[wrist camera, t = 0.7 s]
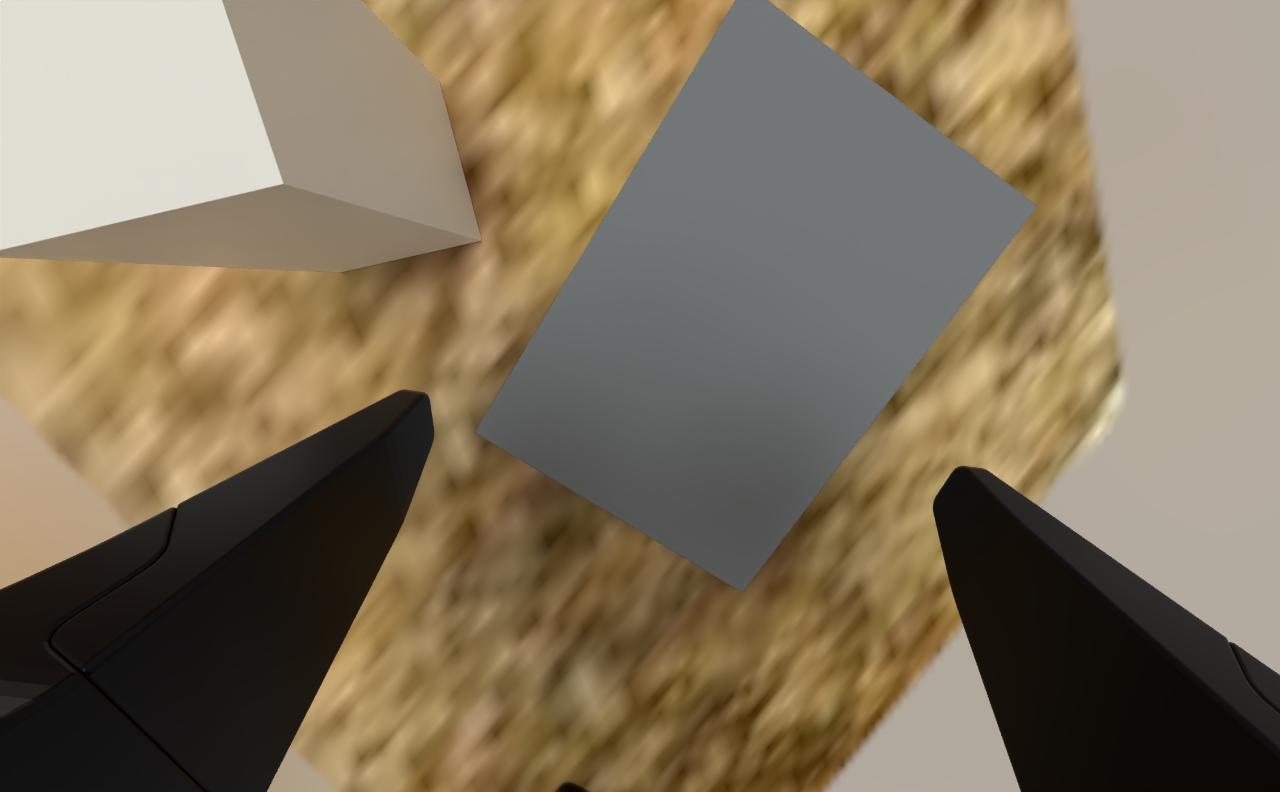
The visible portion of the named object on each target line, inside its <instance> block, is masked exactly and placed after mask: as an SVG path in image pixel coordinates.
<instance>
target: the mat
mask: <svg viewBox="0 0 1280 792" xmlns="http://www.w3.org/2000/svg"><path fill="white" fill-rule="evenodd" d="M1036 208H1037V205H1035V204H1034V203H1033V202H1031V201H1030V200H1029V199H1027V198H1026V197H1025V196H1023V195H1022V194H1021V193H1019V192H1018V191H1017V190H1016V189H1014V188H1013V187H1012V186H1010V185H1009V184H1008V183H1006V182H1005V181H1004V180H1002V179H1001V178H1000V177H999V176H997V175H996V174H995V173H993V172H992V171H991V170H989V169H988V168H987V167H985V166H984V165H983V164H981V163H980V162H979V161H978V160H976V159H975V158H974V157H972V156H971V155H970V154H968V153H967V152H966V151H964V150H963V149H962V148H960V147H959V146H958V145H957V144H955V143H954V142H953V141H951V140H950V139H949V138H947V137H946V136H945V135H943V134H942V133H941V132H940V131H938V130H937V129H936V128H934V127H933V126H932V125H930V124H929V123H928V122H926V121H925V120H924V119H922V118H921V117H920V116H919V115H917V114H916V113H915V112H913V111H912V110H911V109H909V108H908V107H907V106H905V105H904V104H903V103H901V102H900V101H899V100H898V99H896V98H895V97H894V96H892V95H891V94H890V93H888V92H887V91H886V90H884V89H883V88H882V87H881V86H879V85H878V84H877V83H875V82H874V81H873V80H871V79H870V78H869V77H867V76H866V75H865V74H863V73H862V72H861V71H860V70H858V69H857V68H856V67H854V66H853V65H852V64H850V63H849V62H848V61H846V60H845V59H844V58H843V57H841V56H840V55H839V54H837V53H836V52H835V51H833V50H832V49H831V48H829V47H828V46H827V45H825V44H824V43H823V42H822V41H820V40H819V39H818V38H816V37H815V36H814V35H812V34H811V33H810V32H808V31H807V30H806V29H804V28H803V27H802V26H801V25H799V24H798V23H797V22H795V21H794V20H793V19H791V18H790V17H789V16H787V15H786V14H785V13H784V12H782V11H781V10H780V9H778V8H777V7H776V6H774V5H773V4H772V3H770V2H769V1H768V0H736V1H735V2H734V4H733V6H732V7H731V9H730V11H729V12H728V14H727V16H726V17H725V19H724V21H723V22H722V24H721V25H720V27H719V29H718V30H717V32H716V34H715V35H714V37H713V39H712V40H711V42H710V44H709V45H708V47H707V49H706V50H705V52H704V54H703V55H702V57H701V59H700V60H699V62H698V64H697V65H696V67H695V69H694V70H693V72H692V73H691V75H690V77H689V78H688V80H687V82H686V83H685V85H684V87H683V88H682V90H681V92H680V93H679V95H678V97H677V98H676V100H675V102H674V103H673V105H672V107H671V108H670V110H669V112H668V113H667V115H666V117H665V118H664V120H663V122H662V123H661V125H660V126H659V128H658V130H657V131H656V133H655V135H654V136H653V138H652V140H651V141H650V143H649V145H648V146H647V148H646V150H645V151H644V153H643V155H642V156H641V158H640V160H639V161H638V163H637V165H636V166H635V168H634V170H633V171H632V173H631V175H630V176H629V178H628V179H627V181H626V183H625V184H624V186H623V188H622V189H621V191H620V193H619V194H618V196H617V198H616V199H615V201H614V203H613V204H612V206H611V208H610V209H609V211H608V213H607V214H606V216H605V218H604V219H603V221H602V223H601V224H600V226H599V228H598V229H597V231H596V232H595V234H594V236H593V237H592V239H591V241H590V242H589V244H588V246H587V247H586V249H585V251H584V252H583V254H582V256H581V257H580V259H579V261H578V262H577V264H576V266H575V267H574V269H573V271H572V272H571V274H570V276H569V277H568V279H567V281H566V282H565V284H564V285H563V287H562V289H561V290H560V292H559V294H558V295H557V297H556V299H555V300H554V302H553V304H552V305H551V307H550V309H549V310H548V312H547V314H546V315H545V317H544V319H543V320H542V322H541V324H540V325H539V327H538V329H537V330H536V332H535V333H534V335H533V337H532V338H531V340H530V342H529V343H528V345H527V347H526V348H525V350H524V352H523V353H522V355H521V357H520V358H519V360H518V362H517V363H516V365H515V367H514V368H513V370H512V372H511V373H510V375H509V377H508V378H507V380H506V382H505V383H504V385H503V386H502V388H501V390H500V391H499V393H498V395H497V396H496V398H495V400H494V401H493V403H492V405H491V406H490V408H489V410H488V411H487V413H486V415H485V416H484V418H483V420H482V421H481V423H480V425H479V426H478V428H477V430H476V431H475V433H476V434H478V435H480V436H481V437H483V438H485V439H486V440H488V441H490V442H491V443H493V444H495V445H496V446H498V447H500V448H501V449H503V450H505V451H506V452H508V453H510V454H511V455H513V456H515V457H516V458H518V459H520V460H521V461H523V462H525V463H526V464H528V465H530V466H531V467H533V468H535V469H536V470H538V471H540V472H542V473H543V474H545V475H547V476H548V477H550V478H552V479H553V480H555V481H557V482H558V483H560V484H562V485H563V486H565V487H567V488H568V489H570V490H572V491H573V492H575V493H577V494H578V495H580V496H582V497H583V498H585V499H587V500H588V501H590V502H592V503H593V504H595V505H597V506H598V507H600V508H602V509H603V510H605V511H607V512H608V513H610V514H612V515H613V516H615V517H617V518H618V519H620V520H622V521H624V522H625V523H627V524H629V525H630V526H632V527H634V528H635V529H637V530H639V531H640V532H642V533H644V534H645V535H647V536H649V537H650V538H652V539H654V540H655V541H657V542H659V543H660V544H662V545H664V546H665V547H667V548H669V549H670V550H672V551H674V552H675V553H677V554H679V555H680V556H682V557H684V558H685V559H687V560H689V561H690V562H692V563H694V564H695V565H697V566H699V567H700V568H702V569H704V570H706V571H707V572H709V573H711V574H712V575H714V576H716V577H717V578H719V579H721V580H722V581H724V582H726V583H727V584H729V585H731V586H732V587H734V588H736V589H737V590H739V591H741V592H743V591H744V590H745V588H746V587H747V586H748V585H749V583H750V582H751V581H752V579H753V578H754V577H755V575H756V574H757V573H758V571H759V570H760V569H761V568H762V566H763V565H764V564H765V562H766V561H767V560H768V558H769V557H770V556H771V554H772V553H773V552H774V551H775V549H776V548H777V547H778V545H779V544H780V543H781V541H782V540H783V539H784V537H785V536H786V535H787V534H788V532H789V531H790V530H791V528H792V527H793V526H794V524H795V523H796V522H797V520H798V519H799V518H800V517H801V515H802V514H803V513H804V511H805V510H806V509H807V507H808V506H809V505H810V503H811V502H812V501H813V500H814V498H815V497H816V496H817V494H818V493H819V492H820V490H821V489H822V488H823V486H824V485H825V484H826V482H827V481H828V480H829V479H830V477H831V476H832V475H833V473H834V472H835V471H836V469H837V468H838V467H839V465H840V464H841V463H842V462H843V460H844V459H845V458H846V456H847V455H848V454H849V452H850V451H851V450H852V448H853V447H854V446H855V445H856V443H857V442H858V441H859V439H860V438H861V437H862V435H863V434H864V433H865V431H866V430H867V429H868V428H869V426H870V425H871V424H872V422H873V421H874V420H875V418H876V417H877V416H878V414H879V413H880V412H881V411H882V409H883V408H884V407H885V405H886V404H887V403H888V401H889V400H890V399H891V397H892V396H893V395H894V394H895V392H896V391H897V390H898V388H899V387H900V386H901V384H902V383H903V382H904V380H905V379H906V378H907V377H908V375H909V374H910V373H911V371H912V370H913V369H914V367H915V366H916V365H917V363H918V362H919V361H920V360H921V358H922V357H923V356H924V354H925V353H926V352H927V350H928V349H929V348H930V346H931V345H932V344H933V342H934V341H935V340H936V339H937V337H938V336H939V335H940V333H941V332H942V331H943V329H944V328H945V327H946V325H947V324H948V323H949V322H950V320H951V319H952V318H953V316H954V315H955V314H956V312H957V311H958V310H959V308H960V307H961V306H962V305H963V303H964V302H965V301H966V299H967V298H968V297H969V295H970V294H971V293H972V291H973V290H974V289H975V288H976V286H977V285H978V284H979V282H980V281H981V280H982V278H983V277H984V276H985V274H986V273H987V272H988V271H989V269H990V268H991V267H992V265H993V264H994V263H995V261H996V260H997V259H998V257H999V256H1000V255H1001V254H1002V252H1003V251H1004V250H1005V248H1006V247H1007V246H1008V244H1009V243H1010V242H1011V240H1012V239H1013V238H1014V237H1015V235H1016V234H1017V233H1018V231H1019V230H1020V229H1021V227H1022V226H1023V225H1024V223H1025V222H1026V221H1027V220H1028V218H1029V217H1030V216H1031V214H1032V213H1033V212H1034V210H1035V209H1036Z"/></svg>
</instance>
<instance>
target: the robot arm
mask: <svg viewBox="0 0 1280 792" xmlns="http://www.w3.org/2000/svg"><path fill="white" fill-rule="evenodd" d="M433 439H434V426H433V419H432V412H431V405H430V399H429V397H428V395H427V394H426V393H424V392H419V391H412V390H400V391H397V392H395V393H393V394H391V395H389V396H388V397H386V398H384V399H382V400H380V401H378V402H376V403H374V404H372V405H370V406H368V407H366V408H364V409H362V410H360V411H358V412H356V413H354V414H353V415H351V416H349V417H347V418H345V419H343V420H341V421H339V422H337V423H335V424H333V425H331V426H329V427H327V428H325V429H323V430H321V431H320V432H318V433H316V434H314V435H312V436H310V437H308V438H306V439H304V440H302V441H300V442H298V443H296V444H294V445H292V446H290V447H288V448H286V449H285V450H283V451H281V452H279V453H277V454H275V455H273V456H271V457H269V458H267V459H265V460H263V461H261V462H259V463H257V464H255V465H253V466H252V467H250V468H248V469H246V470H244V471H242V472H240V473H238V474H236V475H234V476H232V477H230V478H228V479H226V480H224V481H222V482H220V483H218V484H217V485H215V486H213V487H211V488H209V489H207V490H205V491H203V492H201V493H199V494H197V495H195V496H193V497H191V498H189V499H187V500H185V501H183V502H181V503H180V504H179V505H178V507H177V508H175V507H172V508H170V509H168V510H166V511H164V512H162V513H160V514H158V515H156V516H154V517H152V518H150V519H148V520H146V521H144V522H142V523H140V524H138V525H136V526H134V527H132V528H130V529H128V530H126V531H124V532H122V533H120V534H118V535H116V536H114V537H112V538H110V539H108V540H106V541H104V542H102V543H100V544H98V545H96V546H94V547H92V548H90V549H88V550H86V551H84V552H81V553H79V554H77V555H75V556H73V557H71V558H68V559H66V560H64V561H62V562H60V563H58V564H55V565H53V566H51V567H49V568H47V569H45V570H43V571H40V572H38V573H36V574H34V575H32V576H30V577H27V578H25V579H23V580H21V581H18V582H16V583H14V584H12V585H9V586H7V587H5V588H3V589H0V792H267V790H268V788H269V786H270V784H271V782H272V780H273V778H274V776H275V774H276V772H277V771H278V768H279V767H280V765H281V763H282V761H283V759H284V757H285V754H286V753H287V751H288V749H289V747H290V745H291V743H292V741H293V739H294V737H295V735H296V733H297V731H298V729H299V727H300V725H301V723H302V721H303V719H304V717H305V715H306V713H307V712H308V710H309V708H310V706H311V704H312V702H313V700H314V698H315V696H316V694H317V692H318V690H319V688H320V686H321V684H322V682H323V680H324V678H325V676H326V674H327V672H328V670H329V668H330V666H331V664H332V662H333V660H334V658H335V656H336V655H337V653H338V651H339V649H340V647H341V645H342V643H343V641H344V639H345V637H346V635H347V633H348V631H349V629H350V627H351V625H352V623H353V621H354V619H355V617H356V615H357V613H358V611H359V609H360V607H361V605H362V603H363V601H364V599H365V597H366V596H367V594H368V592H369V590H370V588H371V586H372V584H373V582H374V580H375V578H376V576H377V574H378V572H379V570H380V568H381V566H382V564H383V562H384V560H385V558H386V556H387V554H388V552H389V550H390V548H391V546H392V544H393V542H394V540H395V538H396V537H397V535H398V532H399V530H400V528H401V526H402V524H403V522H404V519H405V517H406V514H407V512H408V509H409V506H410V504H411V501H412V498H413V496H414V493H415V490H416V487H417V485H418V482H419V479H420V476H421V474H422V471H423V468H424V465H425V463H426V460H427V457H428V455H429V452H430V449H431V446H432V443H433ZM933 513H934V517H935V522H936V526H937V530H938V535H939V539H940V543H941V548H942V552H943V556H944V561H945V565H946V569H947V574H948V578H949V582H950V586H951V589H952V593H953V596H954V599H955V603H956V606H957V609H958V612H959V614H960V617H961V620H962V623H963V626H964V629H965V632H966V635H967V638H968V640H969V643H970V646H971V649H972V652H973V655H974V658H975V660H976V663H977V666H978V669H979V672H980V675H981V678H982V681H983V684H984V686H985V689H986V692H987V695H988V698H989V701H990V704H991V706H992V709H993V712H994V715H995V718H996V721H997V724H998V727H999V730H1000V732H1001V736H1002V738H1003V741H1004V744H1005V747H1006V750H1007V753H1008V756H1009V759H1010V761H1011V764H1012V767H1013V770H1014V773H1015V776H1016V779H1017V782H1018V785H1019V787H1020V790H1021V792H1280V675H1279V674H1277V673H1276V672H1275V671H1273V670H1272V669H1270V668H1269V667H1267V666H1266V665H1265V664H1263V663H1262V662H1260V661H1259V660H1257V659H1256V658H1255V657H1253V656H1252V655H1250V654H1249V653H1247V652H1246V651H1245V650H1243V649H1242V648H1240V647H1239V646H1238V645H1236V644H1235V643H1232V642H1228V640H1227V638H1226V637H1224V636H1223V635H1221V634H1220V633H1219V632H1217V631H1216V630H1214V629H1213V628H1212V627H1210V626H1209V625H1207V624H1206V623H1204V622H1203V621H1202V620H1200V619H1199V618H1197V617H1196V616H1194V615H1193V614H1192V613H1190V612H1189V611H1187V610H1186V609H1184V608H1183V607H1182V606H1180V605H1179V604H1177V603H1176V602H1174V601H1173V600H1172V599H1170V598H1169V597H1167V596H1166V595H1164V594H1163V593H1162V592H1160V591H1159V590H1157V589H1156V588H1154V587H1153V586H1152V585H1150V584H1149V583H1147V582H1146V581H1145V580H1143V579H1142V578H1140V577H1139V576H1137V575H1136V574H1135V573H1133V572H1132V571H1130V570H1129V569H1127V568H1126V567H1124V566H1123V565H1122V564H1120V563H1119V562H1117V561H1116V560H1115V559H1113V558H1112V557H1110V556H1109V555H1107V554H1106V553H1105V552H1103V551H1102V550H1100V549H1099V548H1097V547H1096V546H1095V545H1093V544H1092V543H1090V542H1089V541H1087V540H1086V539H1085V538H1083V537H1082V536H1080V535H1079V534H1077V533H1076V532H1074V531H1073V530H1071V529H1070V528H1069V527H1067V526H1066V525H1064V524H1063V523H1062V522H1060V521H1059V520H1057V519H1056V518H1055V517H1053V516H1052V515H1050V514H1049V513H1047V512H1046V511H1045V510H1043V509H1042V508H1040V507H1039V506H1038V505H1036V504H1035V503H1033V502H1032V501H1030V500H1029V499H1028V498H1026V497H1025V496H1023V495H1022V494H1020V493H1019V492H1018V491H1016V490H1015V489H1013V488H1012V487H1010V486H1009V485H1008V484H1006V483H1005V482H1003V481H1002V480H1000V479H999V478H998V477H996V476H995V475H993V474H992V473H990V472H989V471H987V470H985V469H982V468H976V467H968V466H960V467H957V468H956V469H954V471H953V472H952V473H951V475H950V476H949V478H948V479H947V481H946V482H945V484H944V485H943V487H942V488H941V489H940V491H939V492H938V494H937V495H936V497H935V499H934V503H933ZM557 792H582V791H580V790H578V789H576V788H574V787H572V786H569V785H565V786H563V787H561V788H560V789H559V790H558V791H557Z"/></svg>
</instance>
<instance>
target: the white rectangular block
mask: <svg viewBox="0 0 1280 792" xmlns="http://www.w3.org/2000/svg"><path fill="white" fill-rule="evenodd" d="M478 241H482V240H481V236H480V232H479V229H478V225H477V221H476V217H475V214H474V210H473V206H472V202H471V199H470V195H469V191H468V187H467V184H466V180H465V176H464V172H463V169H462V165H461V161H460V157H459V154H458V150H457V146H456V142H455V139H454V135H453V131H452V127H451V124H450V120H449V116H448V112H447V109H446V105H445V101H444V97H443V94H442V90H441V86H440V82H439V80H438V79H437V78H436V77H435V76H434V75H433V74H432V73H431V72H430V71H429V70H428V69H427V68H426V67H425V66H424V65H423V64H422V63H421V62H420V61H419V60H418V59H417V58H416V56H415V55H414V54H413V53H412V52H411V51H410V50H409V49H408V48H407V47H406V46H405V45H404V44H403V43H402V42H401V41H400V40H399V39H398V38H397V37H396V36H395V35H394V34H393V33H392V32H391V31H390V30H389V29H388V28H387V27H386V26H385V25H384V24H383V23H382V22H381V21H380V20H379V18H378V17H377V16H376V15H375V14H374V13H373V12H372V11H371V10H370V9H369V8H368V7H367V6H366V5H365V4H364V3H363V2H362V1H361V0H0V257H2V258H24V259H47V260H69V261H92V262H114V263H137V264H159V265H182V266H204V267H227V268H249V269H272V270H294V271H317V272H339V273H341V272H345V271H349V270H354V269H358V268H363V267H367V266H372V265H376V264H381V263H385V262H389V261H394V260H398V259H403V258H407V257H412V256H416V255H421V254H425V253H429V252H434V251H438V250H443V249H447V248H452V247H456V246H460V245H465V244H469V243H474V242H478Z"/></svg>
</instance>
